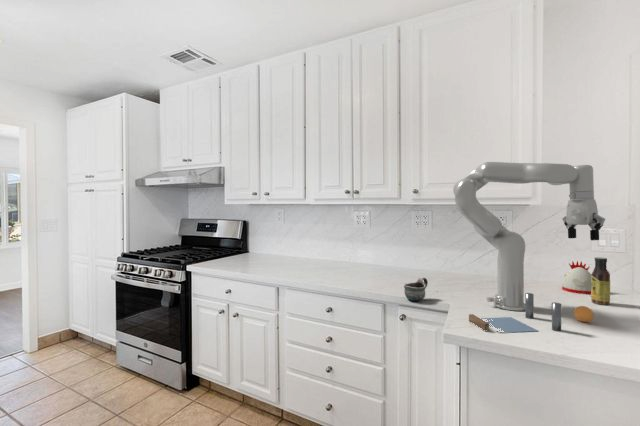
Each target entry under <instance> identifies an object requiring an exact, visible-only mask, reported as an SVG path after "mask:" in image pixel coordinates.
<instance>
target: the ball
mask: <svg viewBox="0 0 640 426" xmlns="http://www.w3.org/2000/svg"><path fill="white" fill-rule="evenodd" d="M573 315H574V317H575V318H576V320H578V321H580V322H581V323H582V322H583V323H589V322H591V321H592V320H593V319H594V317H595V314H594V312H593V310H592V309H591V308H590V307H588V306H584V305H579V306H577V307H575V308H574V310H573Z"/></svg>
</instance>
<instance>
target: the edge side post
mask: <svg viewBox="0 0 640 426" xmlns="http://www.w3.org/2000/svg"><path fill="white" fill-rule="evenodd" d="M551 330H552V331H554V332H562V303H560V302H551Z"/></svg>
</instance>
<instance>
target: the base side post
mask: <svg viewBox="0 0 640 426" xmlns="http://www.w3.org/2000/svg"><path fill="white" fill-rule="evenodd" d="M524 295H525V297H524V303H525V310H524V311H525V312H524V313H525V314H524V315H525V318H526V319H530V320H533V319H534V316H535V314H534V313H535V312H534V307H535V306H534V305H535V304H534V302H535V301H534V300H535V299H534V293H531V292H525V293H524Z"/></svg>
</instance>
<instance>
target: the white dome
mask: <svg viewBox="0 0 640 426" xmlns="http://www.w3.org/2000/svg"><path fill="white" fill-rule="evenodd" d="M568 265H569V267H570V269H569V271H567V273H565V274H564V278H563V281H562V283H561V289H562V291H564V292H568V293H573V294H579V295H591V274H592V273H590V271H589V269H590V265H589V266H588V267H586V266H587V264H586V263H584V264H583V262H582V260H581V261H580V263H579V261H578V260H577V261H576V263H574V261H573V260H572V263H569V262H568Z"/></svg>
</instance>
